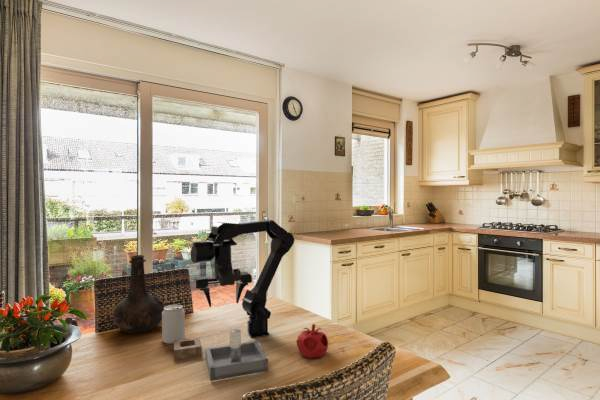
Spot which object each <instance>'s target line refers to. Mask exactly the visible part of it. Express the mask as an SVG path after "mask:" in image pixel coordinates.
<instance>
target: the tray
mask: <svg viewBox="0 0 600 400" xmlns="http://www.w3.org/2000/svg"><path fill="white" fill-rule="evenodd" d="M205 362H206V366H207V370H208V375H209V378H210V379H209V380H210V382H214V381H219V380H225V379H231V378H236V377H243V376H247V375H253V374H258V373H265V372H268V371H269V358H268V357H267V355H266V353H265V352H264V350H263V349H262V347H261V345H260V343H259V342H258V341H257V340H253V341H247V342H241V361H240V362H234V363H230V344H226V345H220V346H213V347H212V346H211V347H206V348H205Z"/></svg>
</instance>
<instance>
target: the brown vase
mask: <svg viewBox="0 0 600 400" xmlns="http://www.w3.org/2000/svg"><path fill="white" fill-rule="evenodd" d="M130 259H131V260H129V261H128V263H129V264H131V265H130V267H131V268H130V280H129V287H128V288H129V289H128V294H127V296H126V298H123V300H120V301H119V303H118V304H116V306H115V308H114V309H113V312H112V318H113V321H114V324H115V325H116V327H117V328H118V329H119V330H120V331H122V332H125V333H128V334H142V333H145V332H149V331H151V330H153V329H154V328H156V327H158V325H159V324H160V323H162V312H163V311H164V307H165V305H164V304H165V302H164V300H163V299H162V298H161V297H159V296H158V295H151V294H150V293H149V292H148V288H147V284H146V274H145V262H147V259H145V256H144V255H143V254H136V255H132V256H131V257H130Z"/></svg>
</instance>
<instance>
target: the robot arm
mask: <svg viewBox="0 0 600 400" xmlns="http://www.w3.org/2000/svg"><path fill="white" fill-rule="evenodd" d="M262 232H266V234H267V236H268V237H269V238H271V242H270V252H269V255H268V257H267V259H266V262H264V265H263V268H262V270H261V272H260V275H259V277H258V279H257V281H256V283H255V286H254V287H253V288H251V290H250V289H246V290H245V293H244V296H243V297H242V299H241V300H242V303H241V306H242V309H243V310H244V312H245V313H246V315H247V316H248V320H247V333H248V335H249V336H250V338H258V337H260V338H261V337H267V336H269V335H270V332H269V325H268V324H269V323H268V322H269V321H268V319H270V317H271V315H272V314H271V313H272V312H271V311H270V310H269V309H268V308H267V307H266V304H267V294H268V290H269V288H270V286H271V283H272V281H273V279H274V277H275V275H276V272H277V270H278V268H279V265H280V263H281V261H282V259H283V257H284V256H285V255H286V254H287V253H288V252H290V250H291V249H292V247H293V245H294V243H295V237H294V235H293V234H292V232H288V231H287V230H286V229H285V228H283V227H281V226H280V225H279V224H278V223H277V222H276V221H274V220H273V219H263V220H258V221H257V220H256V221H250V222H241V223H240V222H239V223H233V222H220V221H217V222H215V223H213V225H212V226H211V230H210V233H209V234H208V236H207V237H206V239H205V240H204V241H192V246H191V249H190V253H189V254H190V260H191V262H192V263H193V264H196V263H197V264H198V263H205V262H211V261H213V263H214V264H213V265H214V277H211V278H208V277H207V276H206V275H202V276H195V277H194V280H193V286H194V287H195V289H199V291H200V292H201V291H202V292H203V293H204V295H205V298H206V301H207V304H208V307H209V308H211V307H212V301H211V295H210V294H211V293H210V288H209V285H214V284H219V286H221V287H225V286H234V285H235V286H236V287H235V302H236V304H239V301H240V298H241V295H242V293H243V291H244V288H245V287H246V286H248V285H249V284H250V283H252V282H253V277H252V275H251V274H250V272H248V271H243V272H242V271H241V268H235V269H233V263H232V246H237V245H238V243H237V242H236V241H235V240H234V239H235V238H236V237H238V236H241V235H247V234H254V233H255V234H256V233H262ZM213 259H214V260H213ZM235 283H236V284H235Z"/></svg>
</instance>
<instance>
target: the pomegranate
mask: <svg viewBox="0 0 600 400" xmlns="http://www.w3.org/2000/svg"><path fill="white" fill-rule="evenodd" d="M316 327H317V326H316V324H315V323H313V324H312V325H311V330H310V329H309V328H308V327H304V328H303V331H302V332H301V333H300V334H299V335H298V336H297V339H296V343H295V344H296V346H297V347H296V348H297V349H298V351H299V353H300V354H301V355H302V356H303V357H304V358H308V359H316V358H320V357H323V356H324V355H326V353H327V351H328V348H329V339H328V337H327V335H326V334H325V333H324V332H322V331H319V330H321V328H320V327H319V328H316Z"/></svg>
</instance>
